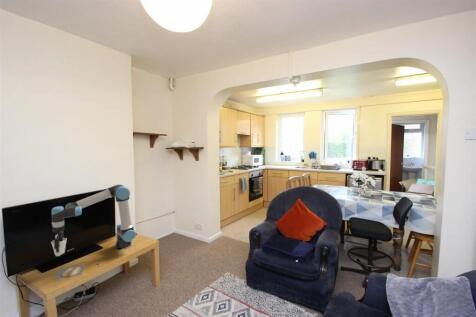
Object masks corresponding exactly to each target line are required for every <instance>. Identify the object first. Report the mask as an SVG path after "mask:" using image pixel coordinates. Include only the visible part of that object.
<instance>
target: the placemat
mask: <svg viewBox="0 0 476 317" xmlns="http://www.w3.org/2000/svg"><path fill="white" fill-rule="evenodd" d="M73 267H80V268H81V272H79V273H78V274H76V275H74V276H70V277H71V278H72V277H76V276H81V275H83V272H84V269H85V267H86V264H81V265H73V266H71V267H70V266H69V267H63V268H59V269H58V271H57V273H56V275H55V276H54V278H53V281H56V280H61V279H65V278H68V277H63V276H62V275H61V274H62V272H63V271H65V270H67V269H69V268H73ZM70 277H69V278H70Z"/></svg>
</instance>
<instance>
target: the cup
mask: <svg viewBox="0 0 476 317" xmlns="http://www.w3.org/2000/svg"><path fill="white" fill-rule="evenodd" d="M67 239H68V238H67V237H64V238H63V241H60V243H59V248H60V256H61V255H63V254H65V252H66V245H67ZM50 243H51V245H52V246H51V247H52V249H53V253H54V255H55V256H56V251H55V249H54V239H53V240H52V241H51V242H50Z"/></svg>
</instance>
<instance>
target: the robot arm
mask: <svg viewBox="0 0 476 317" xmlns="http://www.w3.org/2000/svg"><path fill="white" fill-rule="evenodd" d="M130 195H131V190H130V188H129V187H127V186H125V185H123V184H115V185H113V186H110V187H107V188H106V190H103V191H100V192H98V193H95V194H93V195H92V194H91V195H90V196H87V197H85V198H82V199H79V200H77V201H75V202H68V203H67V204H66V205H65V207H64V206H62V205H61V206H60V205H59V206H55V207H53V208H52V209H51V225H52V226H51V227H52V233H55V234H54V236H53V240H54V249H55V251H56V255H55V257H61V255H60V248H59V243H60V241H63V238H65V235H64V231H65V218H72V217H78V216H81V215H82V214H83V213H82V212H83V211H82V209H84V208H86V207H89V206H91V205H94V204H96V203H99V202H102V201H104V200H106V199H108V198H110V199H111V198H115V202H116V203H117V204H118V210H119V219H120V223H118V224H117V225H116V240H115V243H114V248H115V247H116V248H125V249H127V248H126V247H128V246H130V245H131V244H133V243H132V241H133V240H134V239H135V238H136V235H137V232H136V231H135V228H134V227H135V226H134V224H132V218H131V213H130V206H129V204H130V203H129V201H130ZM131 246H132V245H131ZM131 246H130V247H131ZM116 248H115V249H116ZM128 248H129V247H128ZM54 249H53V250H54Z"/></svg>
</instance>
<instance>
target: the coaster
mask: <svg viewBox="0 0 476 317" xmlns="http://www.w3.org/2000/svg"><path fill="white" fill-rule="evenodd" d="M72 267H73V268H69V267H68V268H69V269H67V270H65V271H63V272H62V274H61V275H62V276H63V277H67V278H70V276H72V277H75V276H74V275H76V274H78V273H79V272H81V268H80V267H74V266H72Z"/></svg>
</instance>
